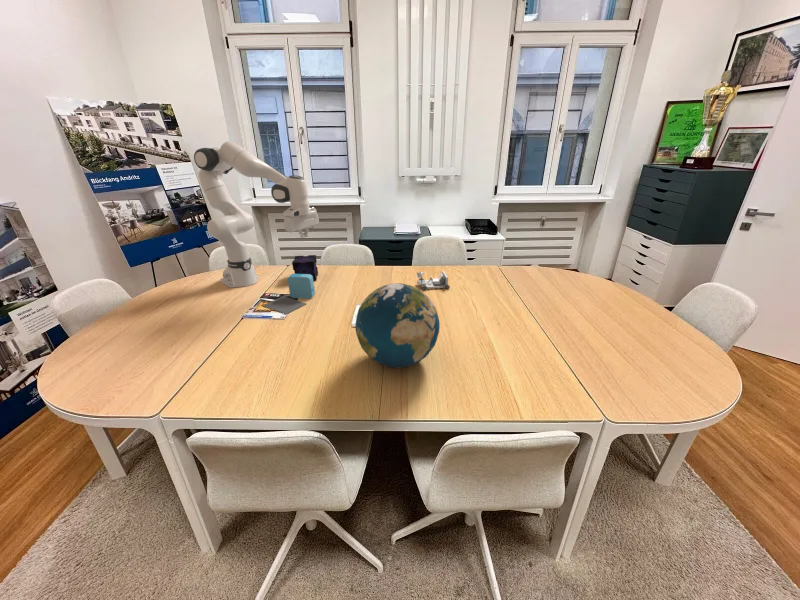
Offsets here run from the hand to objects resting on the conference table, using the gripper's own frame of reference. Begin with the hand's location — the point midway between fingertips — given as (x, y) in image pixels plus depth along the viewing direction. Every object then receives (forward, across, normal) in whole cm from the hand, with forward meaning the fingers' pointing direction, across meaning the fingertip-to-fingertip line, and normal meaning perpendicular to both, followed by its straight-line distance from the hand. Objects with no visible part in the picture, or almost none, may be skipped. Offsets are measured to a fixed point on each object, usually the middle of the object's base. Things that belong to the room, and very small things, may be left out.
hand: (304, 237), depth 180 cm
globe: (+29, +31, +78) cm, 88 cm away
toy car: (+30, -38, +55) cm, 73 cm away
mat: (+29, +22, +4) cm, 37 cm away
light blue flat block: (+29, +10, +4) cm, 31 cm away
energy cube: (+29, -10, -14) cm, 34 cm away
